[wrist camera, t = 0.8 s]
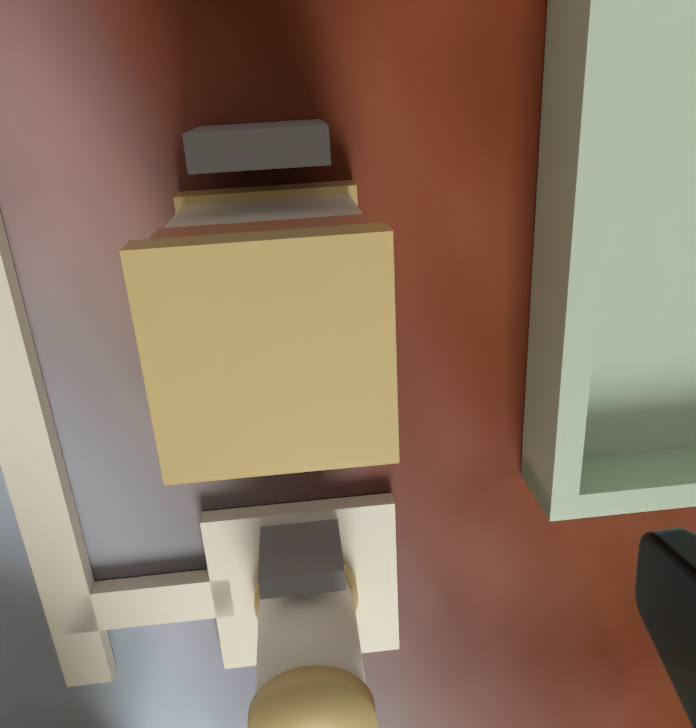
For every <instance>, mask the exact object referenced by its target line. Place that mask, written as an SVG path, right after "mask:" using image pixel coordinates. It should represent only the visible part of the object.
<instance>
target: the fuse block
mask: <svg viewBox="0 0 696 728" xmlns="http://www.w3.org/2000/svg"><path fill="white" fill-rule="evenodd" d="M182 138H183V145H184V152H185V159H186V165H187V172H188V175H189V174H204V173H220V172H235V171H250V170H265V169H280V168H296V167H311V166H326V165H331V154H330V138H329V125H328V124H327V123H325V122H324V121H323V120H321V119H308V120H291V121H275V122H259V123H242V124H226V125H210V126H199V127H197V128H194V129H192V130H190V131H188V132H186V133H183V134H182ZM0 465H1V469H2V472H3V475H4V479H5V482H6V485H7V489H8V492H9V495H10V499H11V502H12V505H13V509H14V512H15V515H16V519H17V522H18V525H19V529H20V532H21V535H22V539H23V542H24V546H25V549H26V552H27V556H28V559H29V562H30V566H31V569H32V572H33V576H34V579H35V582H36V586H37V589H38V592H39V596H40V599H41V602H42V606H43V609H44V612H45V616H46V619H47V622H48V626H49V629H50V632H51V636H52V639H53V642H54V646H55V649H56V652H57V656H58V659H59V663H60V666H61V669H62V673H63V676H64V679H65V683H66V686H67V687H73V686H82V685H90V684H99V683H108V682H113V678H114V675H115V671H116V668H117V667H116V663H115V660H114V656H113V652H112V648H111V644H110V640H109V636H108V632H107V630H112V629H121V628H130V627H139V626H148V625H157V624H166V623H175V622H184V621H194V620H203V619H212V618H216V621H217V627H218V632H219V638H220V644H221V650H222V656H223V662H224V668H225V669H230V668H238V667H247V666H256V682H255V695H254V697H253V699H252V701H251V703H250V707H249V712H248V728H378V724H377V717H376V710H375V704H374V698H373V695H372V693H371V691H370V689H369V688H368V686H367V685H366V681H365V674H364V667H363V660H362V653H369V652H377V651H386V650H395V649H399V624H398V592H397V560H396V527H395V503H394V499H393V495H392V493H385V494H374V495H364V496H354V497H344V498H334V499H324V500H314V501H304V502H294V503H284V504H274V505H264V506H253V507H243V508H233V509H223V510H213V511H203V512H202V515H201V520H200V526H201V532H202V538H203V544H204V550H205V556H206V562H207V568H208V570H198V571H188V572H179V573H169V574H160V575H150V576H141V577H131V578H122V579H112V580H103V581H94V577H93V573H92V569H91V565H90V562H89V558H88V554H87V550H86V546H85V542H84V538H83V534H82V530H81V526H80V522H79V518H78V515H77V511H76V507H75V503H74V499H73V495H72V491H71V487H70V483H69V479H68V475H67V471H66V468H65V464H64V460H63V456H62V452H61V448H60V444H59V440H58V436H57V432H56V428H55V424H54V420H53V417H52V413H51V409H50V405H49V401H48V397H47V393H46V389H45V385H44V381H43V377H42V373H41V370H40V366H39V362H38V358H37V354H36V350H35V346H34V342H33V338H32V334H31V330H30V326H29V323H28V319H27V315H26V311H25V307H24V303H23V299H22V295H21V291H20V287H19V283H18V279H17V275H16V272H15V268H14V264H13V260H12V256H11V252H10V248H9V244H8V240H7V236H6V232H5V228H4V225H3V221H2V217H1V213H0Z"/></svg>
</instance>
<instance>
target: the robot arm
mask: <svg viewBox="0 0 696 728" xmlns="http://www.w3.org/2000/svg"><path fill="white" fill-rule="evenodd" d="M635 599H636V604H637V607H638V610H639V613H640V615H641V617H642V620H643V622H644V624H645V626H646V628H647V630H648V633H649V635H650V637H651V639H652V641H653V643H654V645H655V648H656V650H657V652H658V654H659V656H660V658H661V660H662V663H663V665H664V667H665V669H666V671H667V673H668V675H669V678H670V680H671V682H672V684H673V686H674V688H675V690H676V693H677V695H678V697H679V699H680V701H681V703H682V705H683V708H684V710H685V712H686V714H687V716H688V718H689V720H690V723H691V725H692V727H693V728H696V534H694V533H692V532H690V531H687V530H685V529H682V528H670V529H663V530H656V531H649V532H647V533H645V534H644V535H643V536H642V537H641V539H640V543H639V551H638V561H637V571H636V581H635Z"/></svg>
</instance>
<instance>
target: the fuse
mask: <svg viewBox="0 0 696 728" xmlns="http://www.w3.org/2000/svg"><path fill="white" fill-rule="evenodd" d="M173 199H174V206H175V212H176V214H175V215H174V216H173V217H172V218H171V219H170V221H169V222H168V223H167V224H166V225H165V226H164V228H158V229H157V230H156V231H155V232H154V233H153V234H152V236H151V237H150V238H149V239H144V240H130V241H129V242H128V243H127V244H126V245H125V246H124V247H123V248H122V249H121V250H120V256H121V262H122V267H123V272H124V278H125V283H126V288H127V293H128V299H129V304H130V309H131V314H132V320H133V325H134V330H135V335H136V341H137V346H138V351H139V356H140V362H141V367H142V372H143V377H144V383H145V388H146V393H147V398H148V404H149V409H150V414H151V420H152V425H153V430H154V435H155V441H156V446H157V451H158V456H159V462H160V467H161V472H162V477H163V483H164V485H174V484H185V483H195V482H206V481H216V480H227V479H237V478H248V477H258V476H269V475H279V474H290V473H300V472H310V471H321V470H331V469H342V468H352V467H363V466H373V465H384V464H394V463H399V432H398V395H397V358H396V321H395V284H394V247H393V230H392V229H391V228H390V226H389V225H388V224H387V223H386V222H381V223H372V221H371V220H370V219H369V217H368V216H367V214H362V213H361V211H360V210H359V208H358V200H357V185H356V183H355V182H354V181H353V180H345V181H330V182H315V183H300V184H285V185H270V186H256V187H241V188H226V189H211V190H196V191H181V192H178V193H177V194H176V195H175V196H174V197H173Z"/></svg>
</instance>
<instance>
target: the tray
mask: <svg viewBox="0 0 696 728" xmlns="http://www.w3.org/2000/svg"><path fill="white" fill-rule="evenodd" d="M521 476H522V478H523V479H524V481H525V482H526V484H527V486H528V487H529V489H530V490H531V492H532V494H533V495H534V497H535V499H536V500H537V502H538V503H539V505H540V507H541V508H542V510H543V511H544V513H545V515H546V516H547V518H548V519H549V521H559V520H568V519H578V518H587V517H597V516H607V515H616V514H626V513H636V512H645V511H655V510H665V509H674V508H684V507H694V506H696V0H547V16H546V33H545V51H544V69H543V87H542V105H541V122H540V140H539V158H538V176H537V193H536V211H535V229H534V247H533V265H532V282H531V300H530V318H529V336H528V354H527V371H526V389H525V407H524V425H523V443H522V460H521Z"/></svg>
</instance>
